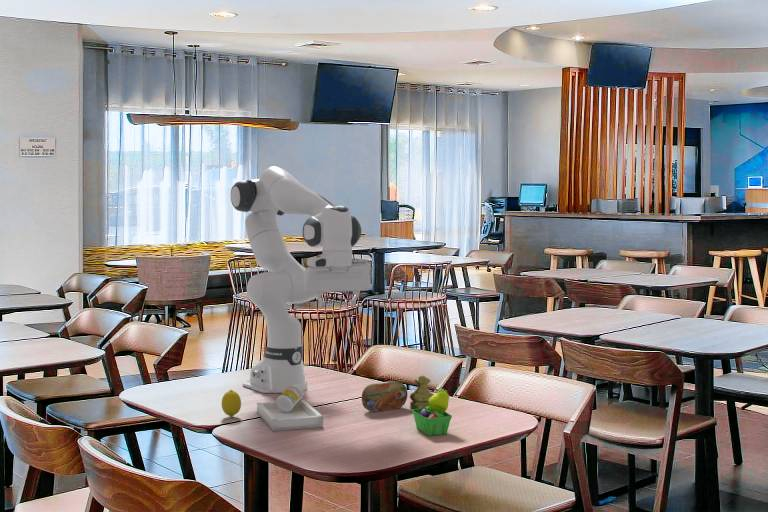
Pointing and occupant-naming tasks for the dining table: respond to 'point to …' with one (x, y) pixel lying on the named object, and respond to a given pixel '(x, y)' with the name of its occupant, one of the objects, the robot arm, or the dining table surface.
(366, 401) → the tin
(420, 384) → the olive brown figurine
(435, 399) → the fruit basket
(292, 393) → the supplement bottle
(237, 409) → the lemon
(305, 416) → the tray
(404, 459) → the dining table surface
